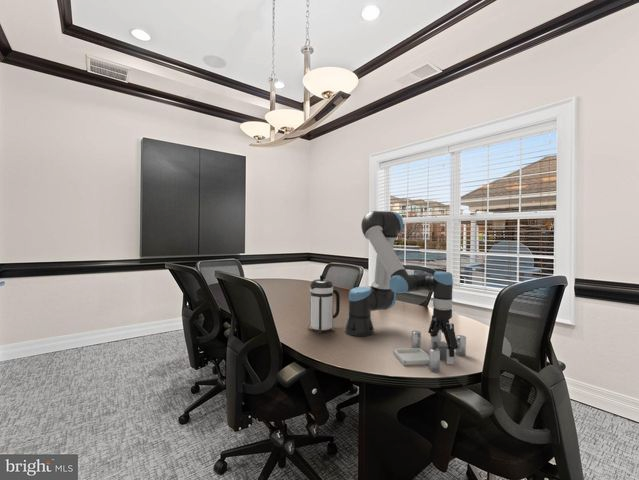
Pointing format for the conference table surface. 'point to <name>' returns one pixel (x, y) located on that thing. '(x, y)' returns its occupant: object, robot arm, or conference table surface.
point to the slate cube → (441, 349)
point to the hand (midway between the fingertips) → (441, 357)
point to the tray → (411, 356)
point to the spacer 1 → (416, 339)
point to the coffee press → (322, 304)
